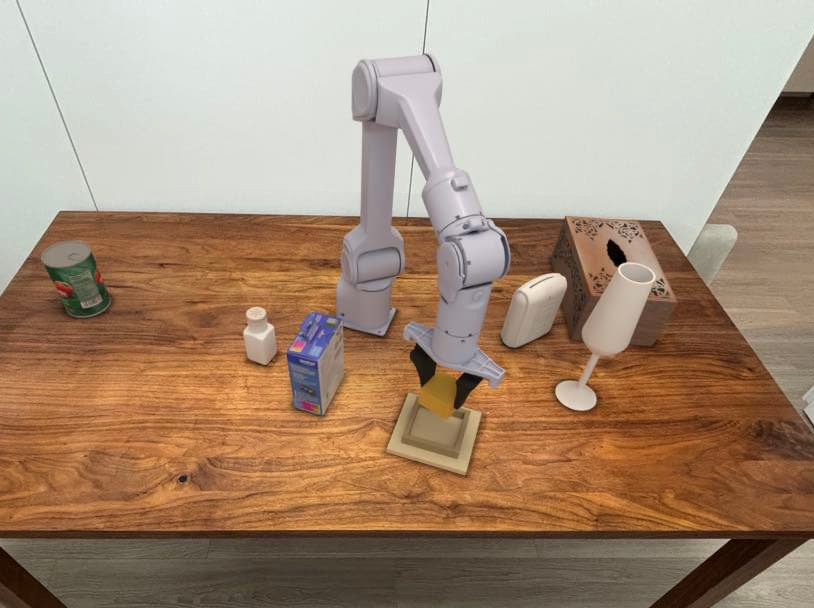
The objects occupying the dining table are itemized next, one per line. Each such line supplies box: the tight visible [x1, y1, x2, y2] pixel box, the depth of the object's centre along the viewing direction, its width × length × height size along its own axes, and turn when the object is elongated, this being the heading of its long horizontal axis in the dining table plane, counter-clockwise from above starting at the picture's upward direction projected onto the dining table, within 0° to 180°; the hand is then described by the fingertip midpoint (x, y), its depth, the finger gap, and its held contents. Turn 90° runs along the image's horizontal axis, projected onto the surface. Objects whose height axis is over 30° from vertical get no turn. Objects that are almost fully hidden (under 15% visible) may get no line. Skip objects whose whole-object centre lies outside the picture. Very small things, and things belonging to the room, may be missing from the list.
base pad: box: [385, 391, 483, 476], centre depth 81 cm, size 12×12×2 cm
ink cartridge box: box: [285, 311, 345, 417], centre depth 82 cm, size 10×6×14 cm, turn 161°
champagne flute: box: [554, 263, 655, 412], centre depth 79 cm, size 7×7×24 cm
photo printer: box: [500, 272, 567, 349], centre depth 93 cm, size 10×4×12 cm, turn 123°
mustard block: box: [418, 369, 458, 420], centre depth 77 cm, size 5×5×3 cm
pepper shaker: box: [242, 306, 278, 366], centre depth 88 cm, size 4×4×10 cm
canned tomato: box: [40, 240, 112, 319], centre depth 95 cm, size 8×8×11 cm
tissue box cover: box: [550, 215, 679, 347], centre depth 102 cm, size 26×14×10 cm, turn 175°
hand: (443, 395), depth 77 cm, fingers closed on mustard block, 5 cm apart
